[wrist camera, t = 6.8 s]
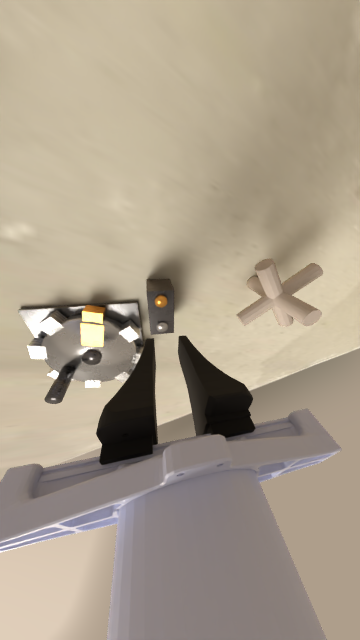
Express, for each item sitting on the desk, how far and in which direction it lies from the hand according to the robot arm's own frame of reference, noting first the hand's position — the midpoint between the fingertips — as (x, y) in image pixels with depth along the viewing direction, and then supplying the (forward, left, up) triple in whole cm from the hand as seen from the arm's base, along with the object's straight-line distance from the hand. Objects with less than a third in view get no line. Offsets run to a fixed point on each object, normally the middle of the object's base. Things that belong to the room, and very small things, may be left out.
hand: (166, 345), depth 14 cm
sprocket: (+7, -10, -9) cm, 15 cm away
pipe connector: (-2, +14, -10) cm, 17 cm away
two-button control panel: (0, 0, -10) cm, 10 cm away
